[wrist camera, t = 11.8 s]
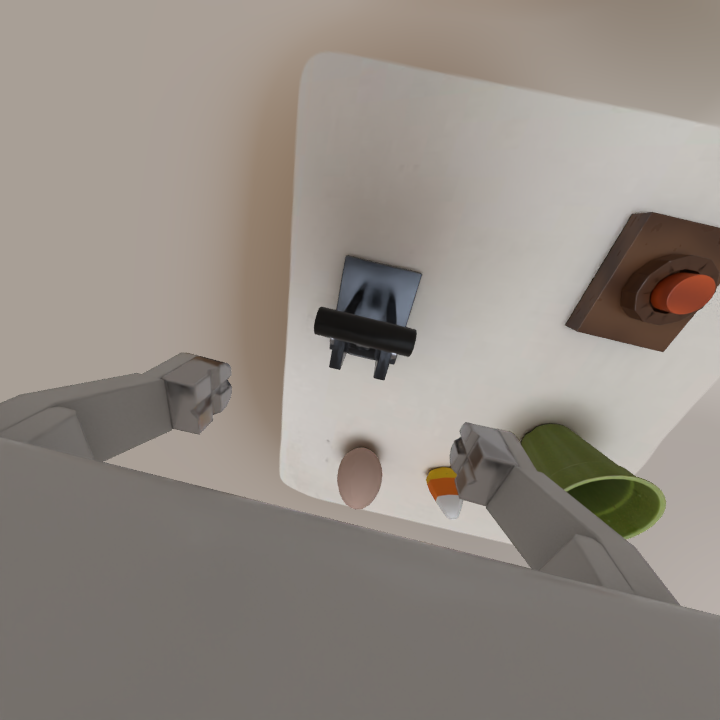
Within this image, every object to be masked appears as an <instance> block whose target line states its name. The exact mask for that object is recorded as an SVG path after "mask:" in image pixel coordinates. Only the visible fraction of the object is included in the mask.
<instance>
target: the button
mask: <svg viewBox="0 0 720 720" xmlns="http://www.w3.org/2000/svg"><path fill="white" fill-rule="evenodd" d="M715 288H716V285H715V281H714V280H713V279H712V278H711V277H709V276H707V275H701V274H693V273H683V272H682V273H675V274H672V275H670V276H668V277H666V278H664V279H663V280H661V281H660V282H659V283H658V284H657V285H656V286H655V288H654V289H653V291H652V293H651V297H650V300H651V304H652V305H653V306H654V307H655V308H657V309H659V310H663V311H667V312H670V313H674V314H688V313H691V312H694V311H696V310H698V309H700V308H701V307H703V306H704V305H705V304H706V303H707V302H708V301H709V300H710V299H711V298H712V296H713V294H714V292H715Z"/></svg>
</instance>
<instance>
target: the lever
mask: <svg viewBox="0 0 720 720" xmlns="http://www.w3.org/2000/svg"><path fill="white" fill-rule="evenodd" d="M314 333H315V334H317V335H321V336H325V337H329V338H333V339H337V340H341V341H345V342H349V343H351V345H350V349H349V354H350V355H354V356H358V357H363V358H367V359H371V360H373V359H374V355H375V351H376V349H378V350H382V351H386V352H390V353H395V354H399V355H403V356H407V357H409V356H410V355H411V353H412V351H413V348H414V345H415V341H416V335H417V332H416V330H415V329H412V328H407V327H403V326H399V325H395V324H391V323H387V322H383V321H379V320H374V319H370V318H366V317H362V316H358V315H354V314H350V313H346V312H341V311H337V310H333V309H329V308H325V307H320V308H319V310H318V312H317V315H316V319H315V324H314Z"/></svg>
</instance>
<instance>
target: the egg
mask: <svg viewBox="0 0 720 720" xmlns="http://www.w3.org/2000/svg"><path fill="white" fill-rule="evenodd" d="M337 482H338V487H339V492H340V495H341V497H342V499H343V501H344V502H345V503H346V505H348V506H349V507H351V508H353V509H363V508H365V507H366V506H368V505H370V503H371V502H372V501H373V500H374V499H375V497H376V495H377V493H378V492H379V489H380V486H381V482H382V468H381V464H380V462H379V459H378V458H377V456H376V455H375V454H374V453H373V452H372V451H370V450H369V449H366V448H356V449H353V450H351V451H350V452H348V453H347V454H346V455H345V456H344V458H343V459H342V461H341V463H340V466H339V469H338V477H337Z"/></svg>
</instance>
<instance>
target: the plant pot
mask: <svg viewBox="0 0 720 720" xmlns="http://www.w3.org/2000/svg"><path fill="white" fill-rule="evenodd" d="M521 446H522V447H523V449H524V450H525V452H526V454H527V455H528V457H529V459H530V460H531V462H532V463H533V465H534V467H535V468H536V470H537V471H538V472H542V473H544V474H545V475H546V476H547V477H548V478H550V479H551V480H552V481H553V482H555V483H556V484H557V485H558V486H560V487H561V488H562V489H563V490H565V491H566V492H567V493H568V494H570V495H571V496H572V497H573V498H575V499H576V500H577V501H578V502H580V503H581V504H582V505H583V506H585V507H586V508H587V509H588V510H589V511H591V512H592V513H593V514H594V515H596V516H597V517H598V518H599V519H601V520H602V521H603V522H604V523H606V524H607V525H608V526H609V527H611V528H612V529H613V530H614V531H616V532H617V533H618V534H619V535H621V536H622V537H623V538H624V539H629V538H632V537H634V536H636V535H639V534H640V533H642V532H644V531H646V530H647V529H649V528H650V527H652V526H653V525H654V524H655V523H656V522H657V521H658V520H659V519H660V518H661V517H662V515H663V513H664V511H665V508H666V500H665V496H664V494H663V493H662V491H661V490H660V489H659V488H658V487H657V486H656V485H654V484H653V483H651V482H649V481H647V480H645V479H642V478H639V477H636V476H634V475H633V474H632V473H630V472H629V471H628V470H626V469H625V468H623V467H621V466H618V465H617V464H615V463H614V462H613V461H611V460H610V459H609V458H607V457H606V456H605V455H603V454H602V453H601V452H599V451H598V450H597V449H595V448H594V447H593V446H591V445H590V444H589V443H587V442H586V441H585V440H583V439H582V438H581V437H579V436H578V435H577V434H575V433H574V432H573V431H571V430H570V429H569V428H567V427H565V426H563V425H558V424H546V425H541V426H538V427H536V428H535V429H534V430H533V431H532V432H530V433H528V434H526V435H525V436H524V438H523V440H522V442H521Z"/></svg>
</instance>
